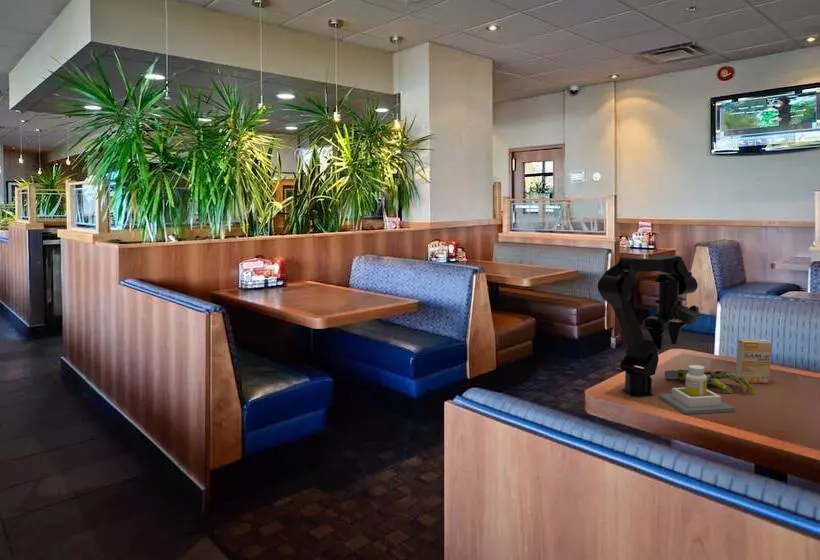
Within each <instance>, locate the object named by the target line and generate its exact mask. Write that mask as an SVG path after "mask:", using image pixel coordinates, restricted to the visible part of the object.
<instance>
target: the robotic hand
mask: <svg viewBox="0 0 820 560" xmlns="http://www.w3.org/2000/svg"><path fill="white" fill-rule="evenodd" d="M687 373H689V370H688V369H677V370H674V369H672V370H666V371H664V378H665V379H668V380H677V379H678V380H679V381H685V377H686V374H687ZM703 374H704V375H706V377H707V385H712V386H713V387H714V386H715V387H717V388H720V389H721V390H723V391H724V392H725V393H727V394H730V395H731V394H732V393H733V389H732V387H731V386H730V385H728V384H725V383H724V382H723V381H722V380H721V379H728V380H731V381H735V382H736V383H737V384H738V385H741V389H742V390H743V392H744V393H745V392H746V391H749V392H750V395H751V396H753V395H755V389H754V387H753V386H752V385H750V384H751V383H748V382H747V381H746V379H745V378H743V377H738V376H736V374H734V373H733V372H729V373H728V372H727V371H723V370H719V369H704V373H703Z"/></svg>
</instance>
